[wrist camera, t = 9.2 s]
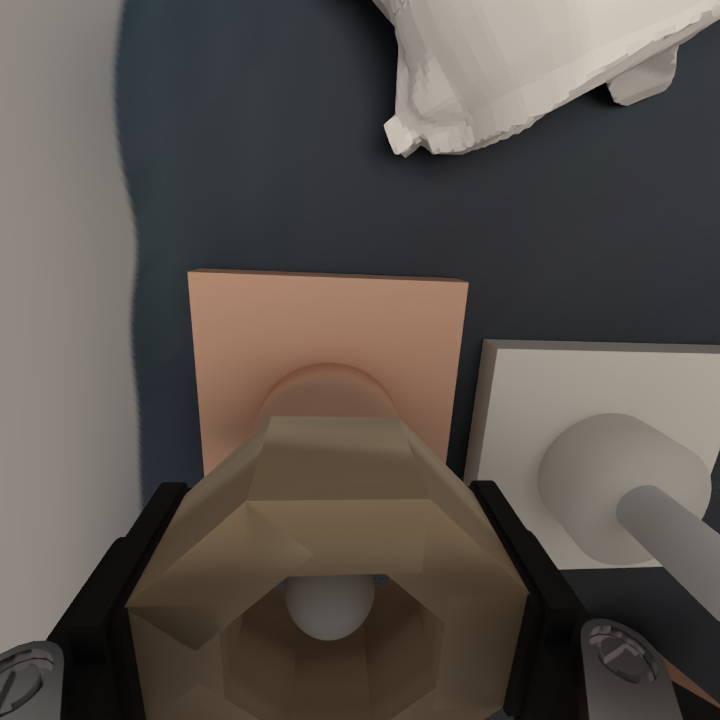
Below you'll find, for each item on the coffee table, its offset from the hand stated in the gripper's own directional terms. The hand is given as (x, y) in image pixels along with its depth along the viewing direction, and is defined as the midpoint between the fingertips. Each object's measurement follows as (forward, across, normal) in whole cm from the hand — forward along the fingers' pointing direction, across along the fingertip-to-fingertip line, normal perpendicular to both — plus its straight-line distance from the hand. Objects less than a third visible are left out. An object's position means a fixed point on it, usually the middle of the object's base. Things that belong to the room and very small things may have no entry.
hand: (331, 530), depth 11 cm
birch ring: (0, 0, 0) cm, 0 cm away
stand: (+7, -12, +2) cm, 14 cm away
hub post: (+7, 0, 0) cm, 7 cm away
